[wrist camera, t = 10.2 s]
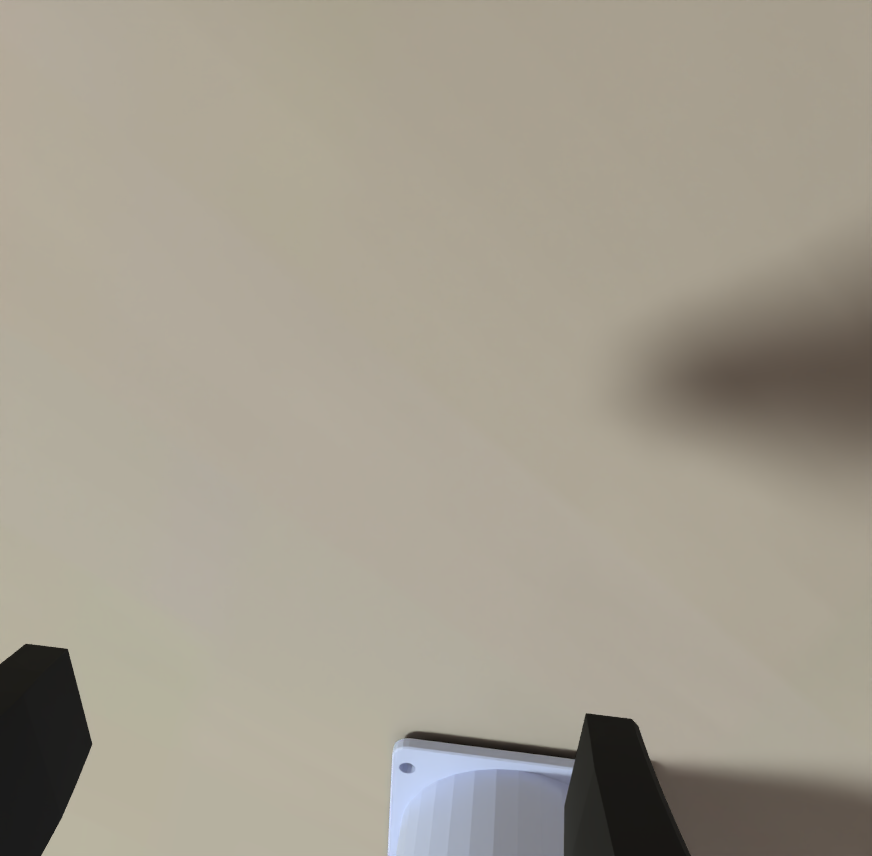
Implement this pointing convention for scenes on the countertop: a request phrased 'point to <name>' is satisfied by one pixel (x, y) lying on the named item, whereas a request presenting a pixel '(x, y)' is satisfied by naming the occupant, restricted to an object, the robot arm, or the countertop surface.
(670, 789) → the countertop surface
